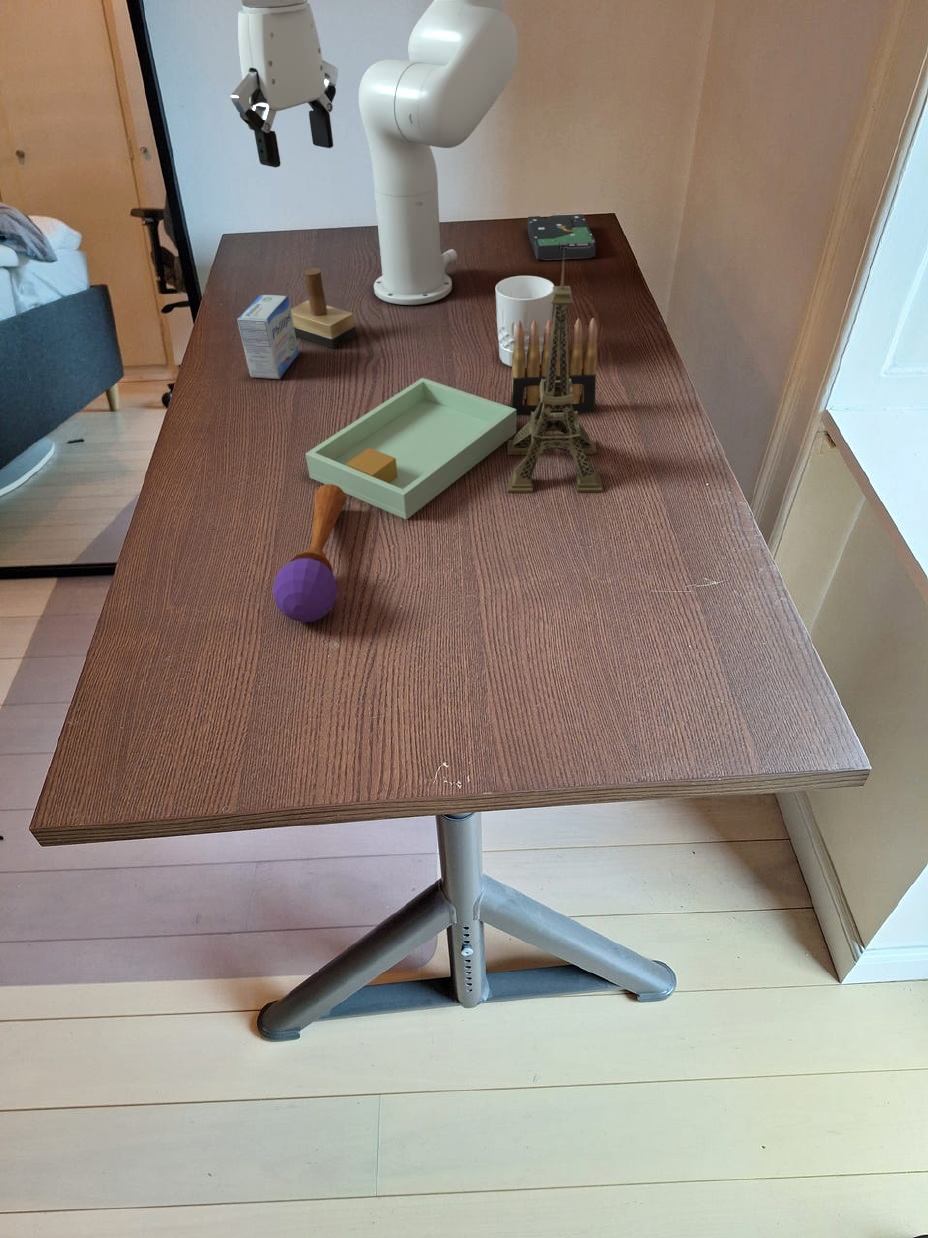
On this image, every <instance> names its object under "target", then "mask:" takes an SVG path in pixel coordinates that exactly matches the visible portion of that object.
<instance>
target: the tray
mask: <svg viewBox="0 0 928 1238" xmlns="http://www.w3.org/2000/svg"><path fill="white" fill-rule="evenodd" d="M516 411H517V410H516V409H514V408H511V407H510V406H508V405H505V404H502V403H500V402H496V401H493V400H491V399H487V398H484V397H481V396H478V395H476V394H472V393H469V392H466V391H465V390H464V391H463V390H460V389H458V388H455V387H452V386H448V385H446V384H443V383H439V382H438V381H434V380H431V379H428V378H425V377H421V378H419V379H418V380H416V381H415V382H413V383H412V384H410V385H408V386H407V387H405V388H404V389H402V390H401V391H399V392H398V393H397V394H395V395H393V396H392V397H390V398H388V399H387V400H386V401H384V402H382V403H381V404H379V405H378V406H376V407H375V408H373V409H372V410H370V411H369V412H367V413H365V414H364V415H362V416H360V418H358V419H356V420H355V421H353V422H352V423H349V424H348V425H347V426H346V427H344V428H343V429H341V430H339V431H338V432H336V433H335V434H333V435H332V436H330V437H329V438H327V439H326V440H324V441H322V442H321V443H319V444H318V445H316V446H315V447H313V448H311V449H309V451H307V452H305V459H306V464H307V470H308V476H309V478H310V479H312V480H314V481H317V482H318V483H321V484H323V485H325V484H333V485H336V486H338V487H339V488H341V489H342V490H343V492H344V493H345V495H349V496H351V497H353V498H355V499H357V500H360V501H362V502H364V503H367V504H370V505H371V506H374V507H376V508H379V509H381V510H383V511H385V512H387V513H390V514H392V515H394V516H397V517H399V518H401V519H403V520H408V519H410V518H411V517H412V516H413V515H415V514H416V513H417V512H418V511H419V510H421V509H422V508H423V507H425V506H426V505H427V504H428V503H430V502H431V501H432V500H433V499H435V498H437V496H439V494H441V493H442V492H444V491H445V490H446V489H447V488H449V487H450V486H451V485H452V484H454V483H455V482H456V481H457V480H459V479H460V478H461V477H463V476H464V475H465V474H466V473H467V472H469V471H470V470H471V469H473V468H474V467H475V466H477V464H479V463H480V462H482V461H483V460H484V459H485V458H486V457H488V456H489V455H490V454H491V453H493V452H494V451H496V450H497V449H499V447H500V446H502V445H503V444H504V443H505V442H508V440H510V439H511V438H513V436H515V435H516V434H517V415H516ZM368 448H371V449H373V450H376V451H379V452H381V453H384V454H386V455H389V456H391V457H394V458H396V467H397V477H396V478H395V479H394V480H392V481H391V482H390V483H387V482H384V481H382V480H379V479H377V478H375V477H372V476H370V475H367V474H365V473H363V472H360V471H358V470H355V469H353V468H351V467H348V466H346V463H348V462H349V461H351V460H352V459H353V458H355V457H356V456H358V455H359V454H361V453H362V452H364V451H365V450H366V449H368Z"/></svg>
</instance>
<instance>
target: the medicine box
mask: <svg viewBox="0 0 928 1238" xmlns="http://www.w3.org/2000/svg"><path fill="white" fill-rule="evenodd" d="M290 302H291V301H290V298H289V296H287V295H280V294H279V295H278V294H260V295H259V296H258V297H257V298H256V299H255V300H254V302H252V303H251V304H250V305H249V306H248V307H247V308H246V310H245V311H244V312H242V314H241V315H240V316H239V317H238V318H237V324H238V329H239V333H240V338H241V342H242V346H243V351H244V355H245V359H246V365H247V368H248V372H249V376H250V377H251V378H256V379H270V380H281V378H282V376H283V375H284V374H285V372H287V370H288V369H289V367H290V366H291V364H292V363H293V362H294V361H295V359H296V358H297V357H298V356H299V348H298V347H299V346H298V342H297V337H296V335H295V330H294V324H293V319H292V313H291V309H292V308H291V303H290Z"/></svg>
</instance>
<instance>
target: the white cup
mask: <svg viewBox="0 0 928 1238" xmlns="http://www.w3.org/2000/svg"><path fill="white" fill-rule="evenodd" d="M553 286H555V284H554V283H553V282H552V281H551V280H549V279H547V278H544V277H542V276H541V277H540V276H537V275H516V276H515V275H514V276H510V277H506V278H503V279H502V280H500V281H498V283H496V285H495V289H494V290H495V308H496V309H495V310H496V312H495V313H496V327H497V339H498V355H499V360H500V361H501V363H503V364H504V365H507V366H508V367H510V368H512V355H513V350H514V337H515V330H516V326H517V323H518V321H521V323H522V326H523V331H524V350H525V356H526V358H525V369H526V367H527V352H528V346H529V335H530V329H531V325H532V323H533V321H534V320H535V321H536V323H537V326H538V332H539V351H540V366H541V355H542V350H543V342H544V333H545V328H546V324H547V322H548V320H549V319H550V320H551V322H552V323H553V315H554V304H552V303H551V296H550V294H551V293H552V292H553Z"/></svg>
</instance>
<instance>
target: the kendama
mask: <svg viewBox="0 0 928 1238" xmlns="http://www.w3.org/2000/svg"><path fill="white" fill-rule="evenodd" d="M346 501H347V497H346V493H344V492H343V490H342V489H341V488H339V487H338V486H336V485H333V484H323V485H320V486H319V487H318V489H317V490H316V492H315V495H314V507H313V509H314V510H313V521H312V533H311V544H310V547H309V548H307V549H305V550H303V551H302V552H300V553H297V554H296V555H295V556H294V557H293V558H292V559H291V560H290V562H288V563H286V564H284V565H283V566H282V568H281V569H280V570H279V571H278V572H277V573H276V576H275V580H274V583H273V586H272V594H273V599H274V602H275V605H276V607H277V608H278V609H279V611H280V612H281V614H283V615H284V616H286V617H287V618H288V619H290V620H293V621H296V622H300V623H313V622H316V621H318V620H321V619H322V618H323V617H325V616H326V615H327V614H328V613H329V612H330V611H331V610H333V608H334V606H335V604H336V603H335V602H336V600H337V598H338V597H337V596H338V591H339V590H338V584H337V580H336V578H335V576H334V572H333V567H332V565H331V563H330V561H329V559H328V557H327V556H326V554H325V552H324V551H323V550H324V548H325V546H326V543H327V541H328V539H329V537H330V535H331V533H332V531H333V529H334V527H335V525H336V523H337V521H338V519H339V516H340V515H341V513H342V510H343V508H344V506H345V504H346Z"/></svg>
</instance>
